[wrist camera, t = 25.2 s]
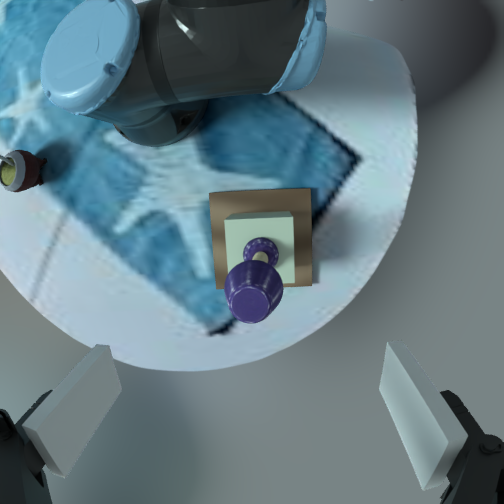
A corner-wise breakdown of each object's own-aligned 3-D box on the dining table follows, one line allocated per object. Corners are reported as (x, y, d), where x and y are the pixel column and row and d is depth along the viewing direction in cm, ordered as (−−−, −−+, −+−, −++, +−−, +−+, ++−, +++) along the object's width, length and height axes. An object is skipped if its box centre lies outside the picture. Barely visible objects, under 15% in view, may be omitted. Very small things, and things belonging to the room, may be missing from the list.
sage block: (231, 213, 44) (224, 220, 37) (289, 211, 43) (293, 217, 36) (235, 269, 45) (229, 285, 39) (291, 267, 45) (294, 282, 38)
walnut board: (210, 192, 44) (209, 193, 43) (309, 188, 43) (310, 188, 42) (217, 286, 47) (216, 289, 46) (311, 283, 46) (312, 286, 45)
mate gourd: (32, 197, 46) (-27, 207, 31) (18, 162, 44) (-40, 164, 30) (56, 173, 45) (-5, 176, 30) (42, 137, 43) (-18, 132, 29)
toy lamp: (232, 258, 38) (205, 317, 22) (251, 225, 37) (237, 261, 21) (267, 277, 38) (265, 348, 22) (287, 245, 37) (300, 296, 21)
